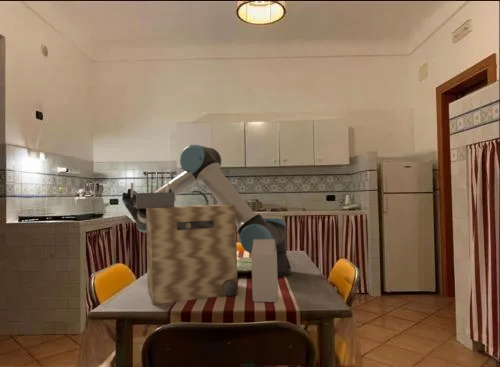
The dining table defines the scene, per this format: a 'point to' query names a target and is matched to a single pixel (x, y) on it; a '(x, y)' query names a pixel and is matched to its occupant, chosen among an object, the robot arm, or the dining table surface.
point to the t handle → (154, 200)
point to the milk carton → (264, 270)
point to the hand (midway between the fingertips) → (150, 185)
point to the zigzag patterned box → (191, 252)
